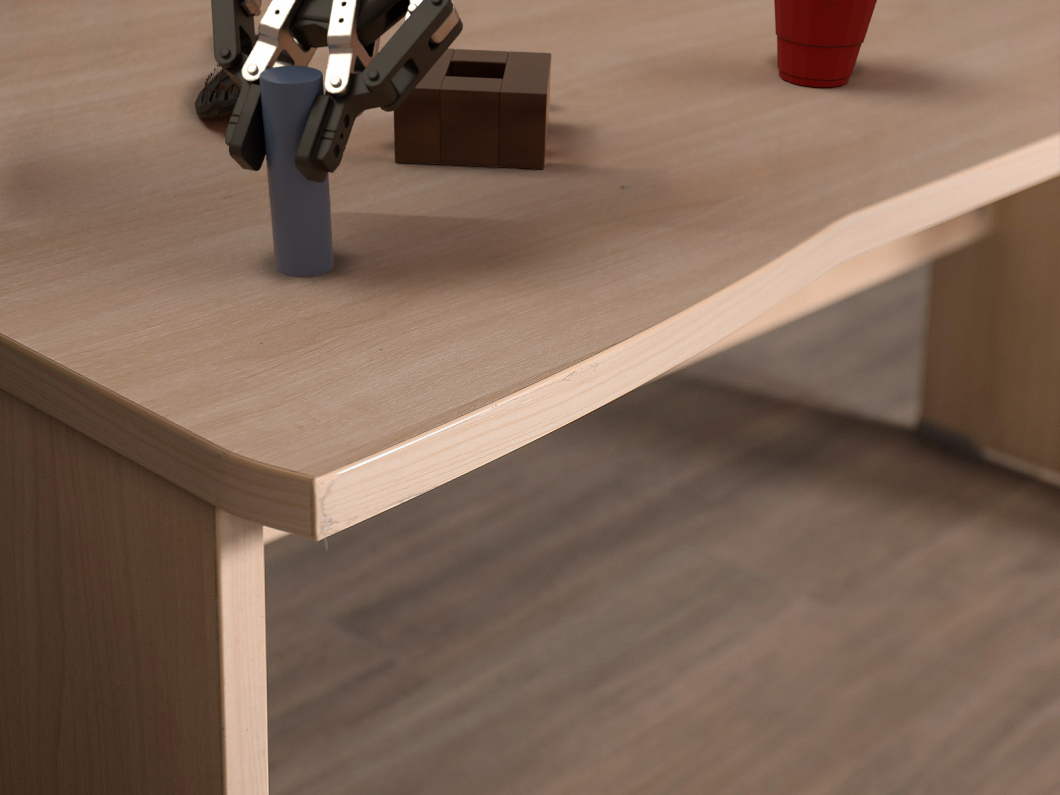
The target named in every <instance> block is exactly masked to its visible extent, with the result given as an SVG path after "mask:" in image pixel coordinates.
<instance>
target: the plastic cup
mask: <svg viewBox="0 0 1060 795" xmlns="http://www.w3.org/2000/svg"><path fill="white" fill-rule="evenodd" d="M773 2H774V26H775V27H774V29H775V35H776V54H777V55H776V57H777V58H776V60H777V62H776V63H777V69H778V76H779V78H781V79H782V80H783V81H786V82H788V83H791V84H795V85H800V86H804V87H813V88H835V87H840V86H844V85H846V84H848V83H849V80H850V78H851V76H852V75H853V73H854V69H855V66H856V63H857V60H858V56H859V53H860V50H861V47H862V44H864V42H865V40H866V36H867V33H868V31H869V30H868V29H869V26H870V24H871V20H872V17H873V14H874V11H875V8H876V4H877V2H878V0H773Z"/></svg>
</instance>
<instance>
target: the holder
mask: <svg viewBox="0 0 1060 795" xmlns="http://www.w3.org/2000/svg"><path fill="white" fill-rule="evenodd" d="M551 75H552V53H551V52H536V51H535V52H533V51H532V52H531V51H512V50H510V51H508V50H489V49H488V50H487V49H465V48H462V49H461V48H456V49H455V48H448V49H447V50H446V51H445V52H444V53H443V55H442V56H441V57H440V58H439V59H438V61H437V62H436V63H435V64H434V65H433V67H432V68H431V69H430V70H429V71H428V73H427V74H426V75H425V76H424V77H423V79H422V80H421V81H420V82H419V83H418V85H417V86H416V87H415V88H414V89H413V91H412V92H411V93H410V94H409V95H408V97H407V98H406V99H405V100H404V101H403V103H402V104H401V105H400V106H399V107H398V108H397V109H396V110H394V111H393V144H394V145H393V146H394V149H393V150H394V163H398V164H399V163H400V164H401V163H403V164H404V163H405V164H420V165H421V164H422V165H424V164H425V165H443V166H444V165H445V166H465V167H466V166H467V167H485V168H486V167H487V168H488V167H489V168H510V169H532V170H544V169H545V164H546V154H547V153H546V152H547V145H548V144H547V143H548V133H549V122H550V102H551V98H550V97H551V79H552V78H551V77H552V76H551Z"/></svg>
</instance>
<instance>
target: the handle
mask: <svg viewBox="0 0 1060 795" xmlns="http://www.w3.org/2000/svg"><path fill="white" fill-rule="evenodd" d="M259 78H260V90H261V102H262V114H263V126H264V138H265V150H266V155H265V160H266V161H265V162H266V173H267V183H268V196H269V197H268V198H269V208H270V209H269V210H270V219H271V220H270V221H271V232H272V244H273V257H274V267H275V270H276V271H277V272H278V273H279V274H281V275H284V276H287V277H293V278H312V277H313V278H314V277H317V276H321V275H324V274H326V273H328V272H330V271H331V270H332V269H333V268H334V263H335V262H334V247H333V228H332V226H333V225H332V213H331V212H332V211H331V209H332V208H331V194H330V176H329V175H330V174H329V173H328V174H327V177H326V179H325V181H324V182H322V183H320V182H314V181H308V180H307V179H306V178H305V177H304V176H303V175H302V173H301V172H300V171H299V170H298V169H297V168H296V166H295V155H296V152H297V149H298V147H299V144H300V141H301V138H302V135H303V132H304V129H305V126H306V123H307V121H308V118H309V115H310V112H311V109H312V106H313V103H314V100H315V98H316V95H317V94H321V95H325V86H324V74H323V71H321V70H320V69H318V68H315V67H311V66H307V67H306V66H280V67H274V68H270V69H267V70H264V71H262V72H261V73H260V75H259Z"/></svg>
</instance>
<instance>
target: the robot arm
mask: <svg viewBox="0 0 1060 795" xmlns="http://www.w3.org/2000/svg"><path fill="white" fill-rule="evenodd" d="M210 1H211V2H210V4H211V22H212V38H213V58H214V60H215V62H216V64H218V66H219V65H220V68H221V69H222V68H223V70H224V71H225V72H226V73H227V74H228V75H229V76H230V78H231V79H232V80H233V81H234V82H235V83H236V85H237V86H238V87H239V88H241V91H240V94H239V96H238V99H237V102H236V105H235V107H234V110H233V113H232V116H230V119H229V121H228V122H229V123H228V124H227V126H226V130H225V133H224V140H225V141H224V143H225V145H226V146H227V147H228V154H229V156H230V157H231V159H233V160H234V162H236V163H237V164H238V165H239V166H240V167H241V169H243V170H247V171H251V172H252V171H253V172H259V171H260V170H261V169H262V167H263V164H264V160H265V159H266V150H265V138H264V126H263V114H262V102H261V90H260V78H259V75H260V73H261V72H262V71H264V70H267V69H270V68H274V67H280V66H306V67H309V64H310V63H311V61H312V59H313V57H314V55H315V53H316V51H317V50H318V49H319V48H328V58H327V65H326V71H325V76H324V81H323V86H324V89H325V91H324V95H321V94H317V95H316V98H315V100H314V103H313V106H312V109H311V112H310V115H309V118H308V121H307V123H306V126H305V129H304V132H303V135H302V138H301V141H300V144H299V147H298V149H297V152H296V155H295V166H296V168H297V169H298V170H299V171H300V172H301V173H302V175H303V176H304V177H305V178H306V179H307V180H308V181H314V182H320V183H322V182H324V181H325V179H326V177H327V174H329V173H330V174H334V173H335V171H336V170H337V169H338V168H339V166H340V165H341V162H342V159H343V157H344V153H345V151H346V148H347V145H348V141H349V139H350V136H351V133H352V130H353V127H354V125H355V121H356V119H357V118H358V117H360V116H362V114H364V112H365V111H367V110H371V109H372V110H373V109H378V108H380V109H381V110H382V111H384V112H387V113H391V112H394V110H396V109H397V108H398V107H399V106H400V105H401V104H402V103H403V101H404V100H405V99H406V98H407V97H408V95H409V94H410V93H411V92H412V91H413V89H414V88H415V87H416V86H417V85H418V83H419V82H420V81H421V80H422V79H423V77H424V76H425V75H426V74H427V73H428V71H429V70H430V69H431V68H432V67H433V65H434V64H435V63H436V62H437V61H438V59H439V58H440V57H441V56H442V55H443V53H444V52H445V51H446V50H447V49H449V48H450V46H451V45H452V44H453V43H454V42H455V40H456V39H457V38H458V37H459V36H460V34H461V33H462V32H463V28H464V24H463V21H462V19H461V17H460V13H459V11H458V9H457V7H456V5H455V3H454V2H453V0H271V1H270V3H269V4H268V7H267V9H266V11H265V12H264V14H263V16H262V18H261V20H260V21H259V23H258V26H257V33H258V34H257V35H259V37H258V40H257V42H256V41H255V35H256V28H255V26H256V25H255V17H259V16H260V15H261V14H262V9H261V7H262V3H263V0H210ZM402 19H404V22H403V23H402V24H401V25H400V27H399V28H397V30H396V31H395V32H394V34H393V35H392V36H391V37H390V38H389V39H388V41H387V42H386V43H385V44H384V45H383V47H381V49H380V42H381V37H382V36H384V34H385V33H387V32H388V31H389V30H391V29H392V28H393V27H394V26H395V25H396V24H397V23H399V22H400V21H401V20H402ZM379 49H380V50H379Z"/></svg>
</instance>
